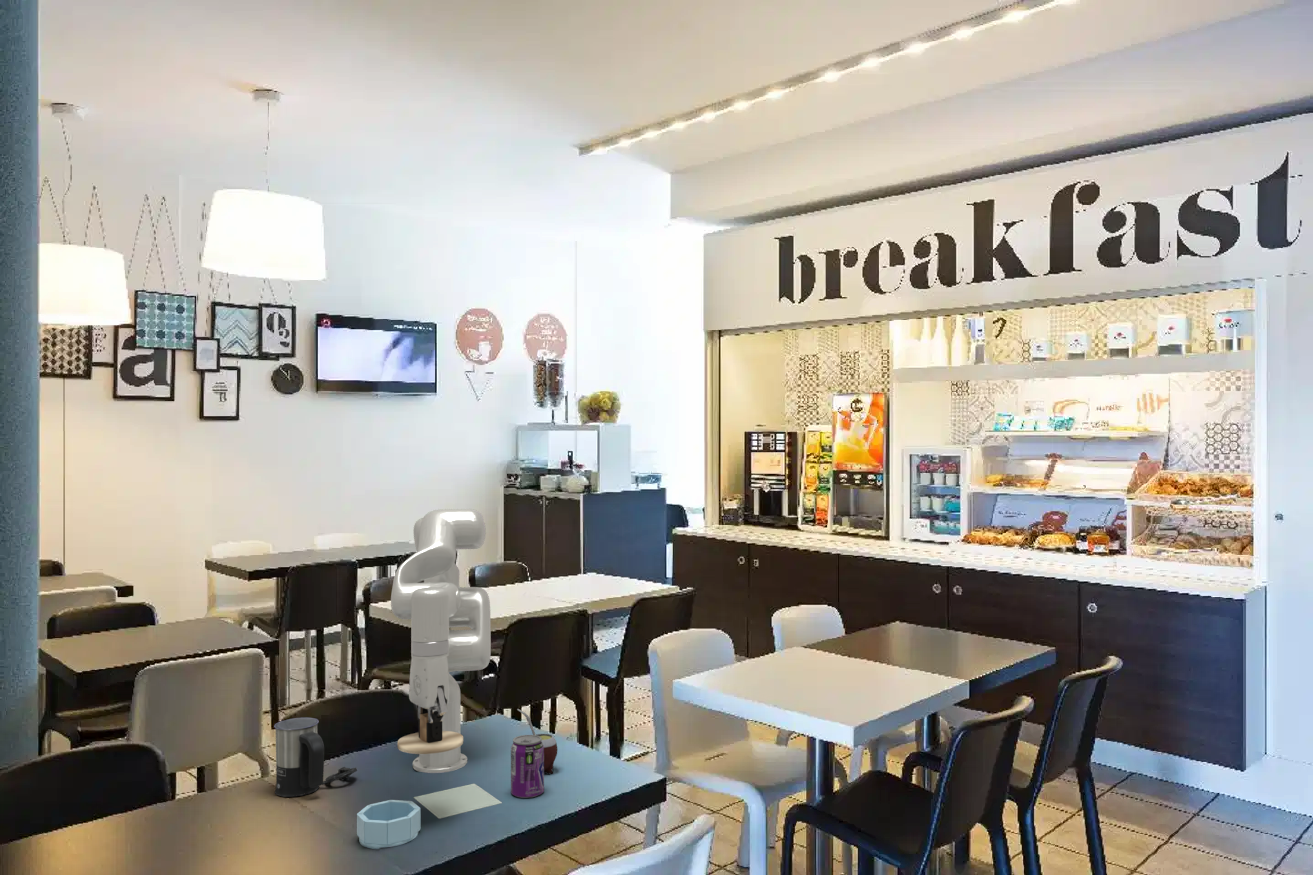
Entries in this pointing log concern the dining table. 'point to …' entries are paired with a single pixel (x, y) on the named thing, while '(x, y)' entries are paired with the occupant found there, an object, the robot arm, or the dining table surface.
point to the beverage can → (527, 766)
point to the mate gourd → (545, 747)
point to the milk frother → (301, 758)
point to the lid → (422, 747)
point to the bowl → (388, 823)
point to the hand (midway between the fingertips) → (430, 738)
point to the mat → (457, 800)
